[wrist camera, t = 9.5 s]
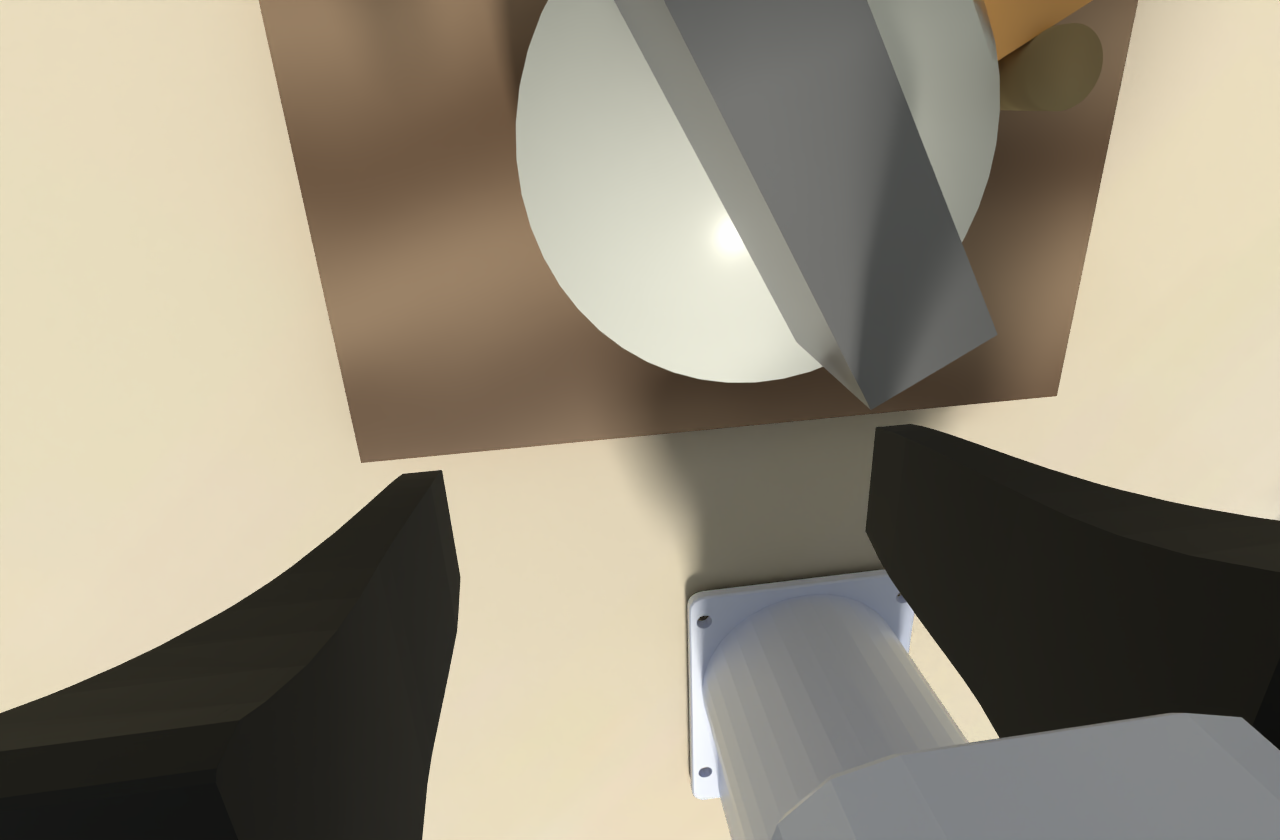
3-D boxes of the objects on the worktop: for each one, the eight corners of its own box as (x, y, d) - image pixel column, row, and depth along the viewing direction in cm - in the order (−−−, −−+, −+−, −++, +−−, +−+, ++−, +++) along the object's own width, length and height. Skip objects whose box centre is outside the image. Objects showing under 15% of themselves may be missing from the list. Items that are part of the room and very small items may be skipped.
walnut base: (1025, 378, 23) (1141, 443, 19) (372, 439, 21) (330, 528, 16) (1137, -228, 17) (1349, -343, 13) (231, -231, 15) (104, -369, 10)
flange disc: (669, 441, 18) (716, 555, 14) (413, 59, 14) (357, 40, 10) (1115, 170, 17) (1329, 195, 12) (975, -335, 13) (1217, -572, 8)
